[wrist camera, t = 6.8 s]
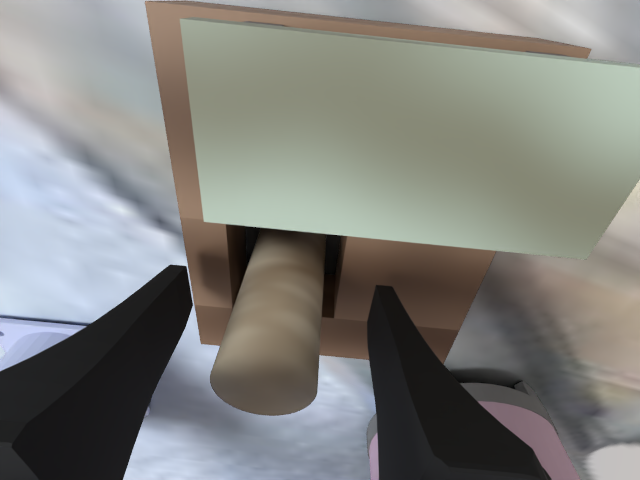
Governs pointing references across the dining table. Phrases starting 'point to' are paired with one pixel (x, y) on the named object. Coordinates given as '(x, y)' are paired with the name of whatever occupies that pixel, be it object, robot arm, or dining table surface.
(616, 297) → the dining table surface
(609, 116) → the socket deck
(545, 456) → the blender
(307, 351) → the peg
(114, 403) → the robot arm
